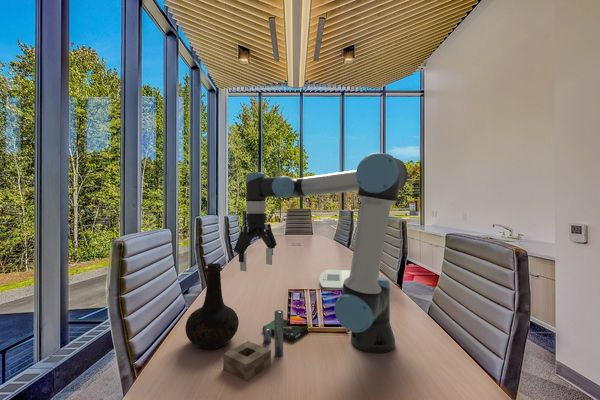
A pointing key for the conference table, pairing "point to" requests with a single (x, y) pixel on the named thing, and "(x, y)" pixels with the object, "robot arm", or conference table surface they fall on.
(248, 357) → the socket block
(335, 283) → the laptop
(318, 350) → the conference table surface
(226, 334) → the glass bottle
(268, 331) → the short pin
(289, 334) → the disk drive
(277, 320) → the long pin
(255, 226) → the robot arm
